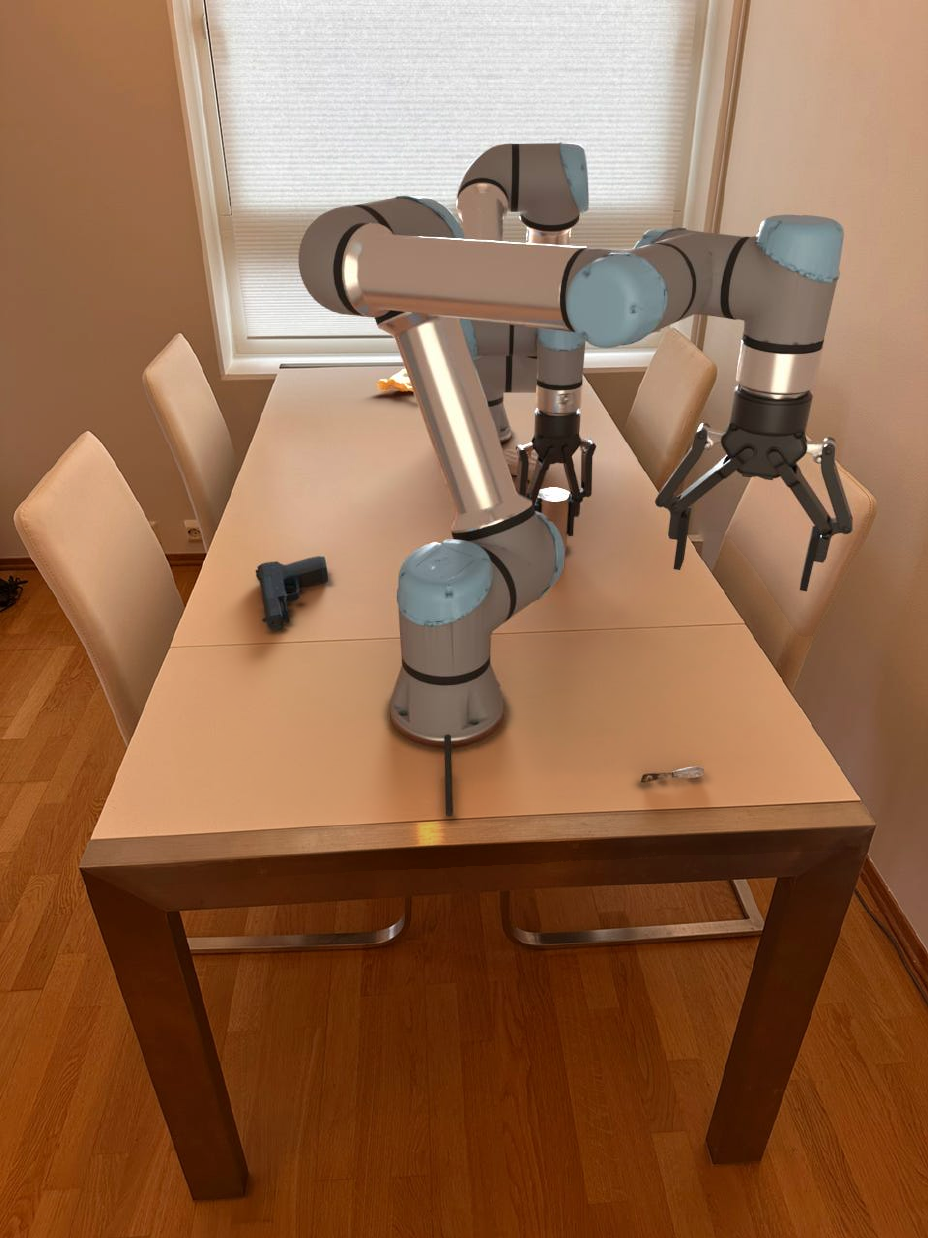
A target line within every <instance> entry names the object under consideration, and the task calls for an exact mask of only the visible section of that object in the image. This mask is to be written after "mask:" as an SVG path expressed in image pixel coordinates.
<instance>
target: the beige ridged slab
mask: <svg viewBox="0 0 928 1238" xmlns="http://www.w3.org/2000/svg"><path fill="white" fill-rule="evenodd" d="M502 449H503V452H504V455H505V458H506V461H507V464H508V467H509V470H510V473H511V475H513V476H517V469H518V454H517V451H516V449H510V448H502ZM537 457H538V454H537V453H536V451H535V450H533V451H532V452H531V457H530V458H528V460H529V468H528V479H527V481H529V482H530V481H531V478H532V475H533V473H534V470H535V467H536V461H537Z"/></svg>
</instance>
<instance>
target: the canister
mask: <svg viewBox="0 0 928 1238" xmlns="http://www.w3.org/2000/svg"><path fill="white" fill-rule="evenodd" d="M570 496H571V492H570V491H568V490H566V489H564V488H560V487H544V488H542V489H540V491H539V494H538V497H537V500H536V502H537V503H538V505H539V513H541V514H543V515H545V516H546V517H547V521H549V522H553V523H554V525H555V526H556V528H557V529H558V531H559V533H560V535H561V537H562V540H563V544H564V550H565V553H566V552H567V548H568V537H569V535H568V520H569V505H570Z"/></svg>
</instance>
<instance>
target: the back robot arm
mask: <svg viewBox="0 0 928 1238" xmlns="http://www.w3.org/2000/svg"><path fill="white" fill-rule="evenodd" d="M588 174H589V173H588V161H587V154H586V150H585V148H584V147H583V146H582V145H581V144H579V143H565V142H562V141H559V142H554V143H553V142H548V143H547V142H545V143H544V142H543V143H542V142H541V143H534V142H533V143H512V142H505V143H499V144H496V145H494V146H491V147H489V148H488V149H486V150H484V151H483V152H482V153H481V154H479V155H478V156H477V157H476V158H475V159H474V160H473V161H472V162H471V163H470V164H469V166H468V167H467V169H466V170H465V171H464V173H463V175H462V177H461V179H460V182H459V183H458V187H457V191H456V203H455V204H456V212H457V215H458V217H459V219H460V220H461V228H462V230H463V232H464V235H465V238H466V240H481V241H497V242H504V219H505V218H506V216H507V214H508V213H519V221H520V222H521V224H522V226H524V227H526V242H525V243H529V244H545V245H561V246H570V242H571V241H570V238H571V230H573V229H574V227H576V226H577V225H578V223H579V222H580V217H581V216H580V214H584V213H587V212H588V211H589V204H590V197H589V195H590V192H589V175H588ZM459 319H460V322H461V325H462V328H463V331H464V334H465V337H466V340H467V343H468V346H469V349H470V352H471V355H472V358H473V361H474V364H475V367H476V370H477V373H478V376H479V379H480V383H481V386H482V389H483V392H484V395H485V398H486V401H487V404H488V407H489V410H490V413H491V416H492V419H493V422H494V425H495V428H496V431H497V434H498V437H499V440H500V443H501V444H503V443H505V442H507V441H508V440H509V439H510V438H511V435H512V434H511V433H512V428H511V423H510V420H509V416H508V413H507V411H506V407H505V404H504V394H505V393H511V394H513V393H514V394H521V393H522V394H524V393H525V394H533V393H534V394H535V405H534V406H535V407H536V409H535V411H534V431H533V433H534V434H533V437H532V439H531V441H530V442H529V443H526V444H524V445H522V444H517V445H516V446H515V450H516V451H517V454H518V469H517V475H516V480H515V481H516V482H515V488H516V491H517V492H518V493H519V494H520V495H522V496H524V497H526V498H528V499H530V500H531V501H532V504H533V507H534V510H535V511H537V512H539V505H538V503H537V497H538V494H539V491H540V490H541V488H542V485H543V482H544V480H545V477H546V474H547V472H548V471H549V470H550V466H551V465H555V464H562V465H563V470H564V473H565V476H566V481H567V485H568V488H569V493H570V505H569V520H568V537H573V536H574V528H575V518H579V517H580V514H581V513H580V511H581V503H583V501H584V498H590V497H591V496H592V494H593V458H594V454H595V451H596V449H597V445H596V443H595V442H594V441H593V440H592V438H586V439H583V438H581V436H580V428H581V415H582V413H581V412H582V411H580V409H581V407H582V397H583V383H584V382H583V381H584V380H583V376H584V365H585V364H584V363H585V354H586V353H585V352H586V341H585V340H584V339H583V338H582V337H580V336H579V335H578V334H577V333H576V332H569V331H560V330H552V329H544V328H536V327H527V326H519V325H511V324H502V323H494V322H486V321H477V320H469V319H461V318H459ZM578 449H579V450H580V453H581V454H580V486H579V481H578V479H577V474H576V470H575V463H574V459H573V455H574V454H575V453H576V452H577V450H578ZM532 451H536V453H537V454H538V457H537V461H536V467H535V470H534V473H533V475H532V478H531V481H530V480H529V484H528V480H527V479H528V468H529V460H528V458H530V457H531V452H532Z"/></svg>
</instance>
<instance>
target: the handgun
mask: <svg viewBox="0 0 928 1238" xmlns="http://www.w3.org/2000/svg"><path fill="white" fill-rule="evenodd" d="M255 576H256V579H257V581H259V586H260V591H261V592H260V593H261V598H262V599H261V600H262V605H263V610H264V615H265V617H264V618H262V619H261V622H262V623H266V627H267V628H268V629H270V630H271V631H277V630H283V628H284V626H285V623H284V622H285V621H286V623H287V624H289V623H290V613H289V607H288V603H291V602H295V601H298V600H300V590H302V589H306V588H309V587H314V586H317V585H320V584H323V583H328V582H329V575H328V567H327V562H326V557H325V556H321V555H319V556H318V555H317V556H314V557H313V556H312V557H307V558H304V559H300V560H297V561H294V562H291V563H288V564H283V563H280V562H279V561H267V562H263V563H261V564H259V565H257V569H256V570H255ZM290 592H293V593H290Z"/></svg>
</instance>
